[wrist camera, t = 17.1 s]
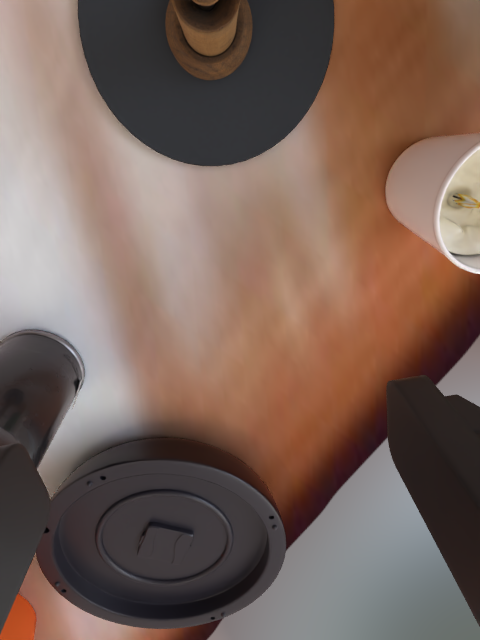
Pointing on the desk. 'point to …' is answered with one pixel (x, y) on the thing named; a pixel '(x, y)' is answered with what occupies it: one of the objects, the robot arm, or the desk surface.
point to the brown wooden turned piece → (209, 35)
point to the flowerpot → (19, 621)
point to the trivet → (207, 95)
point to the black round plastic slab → (162, 535)
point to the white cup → (440, 195)
